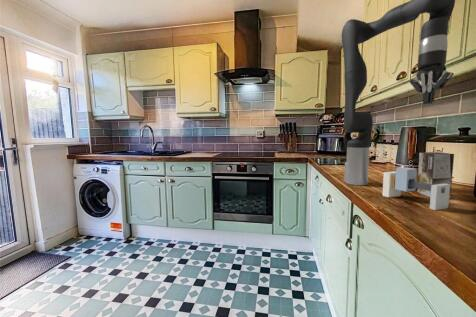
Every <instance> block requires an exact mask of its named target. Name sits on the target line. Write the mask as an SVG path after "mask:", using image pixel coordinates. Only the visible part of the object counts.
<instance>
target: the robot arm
mask: <svg viewBox="0 0 476 317" xmlns="http://www.w3.org/2000/svg"><path fill="white" fill-rule="evenodd" d="M455 4H456V0H409V1H406V2H404V3H402V4H400V5H397V6H395V7H393V8H391V9H389V10H388V11H387V12H385V14H384V15H382V17H381V18H379V19H376V20H373V21H372V22H365V21H364V20H359V19H355V18H354V19H353V18H352V19H348V20H347V21H346V22H345V24H344V25H343V27H342V30H341V44H342V52H343V64H344V66H343V67H344V68H343V69H344V74H343V76H344V79H343V80H344V110H343V111H344V113H343V126H344V131H345V132H346V133H349V134H351V133H353V134H355V133H358V135H357V136H356V137H355V138H353V139H350V140H348V141H347V143H346V161H345V162H344V175H343V178H344V179H343V180H344V181H343V182H344V183H346V184H347V185H351V186H367V185H368V183H369V182H368V181H369V163H370V144H371V141H372V132H373V122H374V120H373V116H372V114H371V113H370V112H367V111H365V112H363V111H362V112H361V111H360V112H357V111H356V105H357V102H358V99H359V97H360V96H361V95H362V93H363V91H364V89H365V88H366V86H367V83H368V70H367V65H366V62H365V60H364V58H363V56H362V54H361V52H360V48H359V45H360V44H361V45H362V43H363V44H364V43H365V42H366V41H367V42H368V41H369V40H371V39H373V38H375V37H376V36H379V35H381V34H382V33H384V32H387V31H389V30H392V29H394V28H397V27H400V26H401V27H402V26H403V25H405V24H409V23H412V22H413V21H415V20H417V19H418V18H419V17H420V15H423V14H429V18H428V20H427V21H425V22H424V23H423V24H422V26H421V30H420V43H419V47H418V55H417V72H416V74H415V75H416V77H414V78H413V79H410V80H409V84H410V85H411V86H412V87H413V88H414V89H415V91H417V93H422V103H423V104H424V105H430V104H432V103H433V102H434V101H435V93H436V92H437V91H440V90H442V89H443V88H444V87H445V85H446V84H447V83H448V82H449V81H450V80H451V78H452V77H453V76H454V72H450V71H448V70H447V67H446V63H447V53H448V48H449V46H448V32H449V22H450V19H451V17H452V14H453V11H454V8H455Z"/></svg>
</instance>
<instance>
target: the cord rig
mask: <svg viewBox="0 0 476 317" xmlns="http://www.w3.org/2000/svg"><path fill="white" fill-rule="evenodd" d="M395 178H396V170H395V171H384V172H383V179H382V196H383V197H386V198H396V197H401V195H402V191H401V190H397V189H395ZM408 187H413V188H416V189H423V190H428V191H431V197H429V199H430V200H429V209H430V210H434V211H438V210H444V209H448V208H449V205H450V203H449V202H450V199H449V192H450V184H436V185H432V184H426V183H421V182H418V181H416V182H415V181H410V180H409V181H408Z"/></svg>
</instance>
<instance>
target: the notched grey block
mask: <svg viewBox="0 0 476 317" xmlns="http://www.w3.org/2000/svg"><path fill="white" fill-rule="evenodd" d="M395 171H396V178H395V189H397V190H401V192H405V193H407V192H414V191H417V188H413V187H408V181H409V180H410V181H415V182H417V178H418V168H414V167H413V168H412V167H396V168H395Z"/></svg>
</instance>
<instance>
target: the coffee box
mask: <svg viewBox="0 0 476 317" xmlns="http://www.w3.org/2000/svg"><path fill="white" fill-rule="evenodd" d="M418 157H419V158H418V170H417V182H421V183H426V184H432V185H436V184H450V192H449V200H450V199H451V198H452V196H451V195H452V182H453V173H454V172H453V171H454V159H455V154H454V153H449V152H448V153H447V152H439V151H438V152H437V151H436V152H435V151H434V152H433V151H431V152H430V151H425V152H419V155H418ZM416 191H417V193H418V192H419V193H418V194H422V195H424V196H426V197H428V198H430V197H431V191H428V190H423V189H418V188H416Z"/></svg>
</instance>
